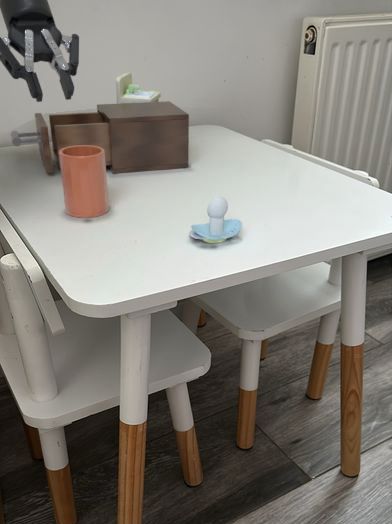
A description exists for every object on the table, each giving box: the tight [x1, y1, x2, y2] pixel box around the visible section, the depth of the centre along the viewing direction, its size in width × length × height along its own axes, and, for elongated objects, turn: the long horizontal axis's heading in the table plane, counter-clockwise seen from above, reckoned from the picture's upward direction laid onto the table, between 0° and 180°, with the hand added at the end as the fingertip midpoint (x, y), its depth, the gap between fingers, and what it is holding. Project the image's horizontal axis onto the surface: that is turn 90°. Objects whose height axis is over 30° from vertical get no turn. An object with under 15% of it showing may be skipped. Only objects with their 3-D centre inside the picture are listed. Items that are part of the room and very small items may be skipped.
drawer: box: [10, 111, 112, 174], centre depth 103 cm, size 18×11×8 cm, turn 108°
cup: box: [59, 145, 110, 219], centre depth 84 cm, size 7×7×9 cm
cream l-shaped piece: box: [115, 72, 162, 104], centre depth 119 cm, size 8×7×13 cm
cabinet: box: [96, 100, 190, 174], centre depth 107 cm, size 15×13×10 cm
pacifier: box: [188, 196, 243, 244], centre depth 77 cm, size 7×6×6 cm
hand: (54, 96), depth 87 cm, fingers open, 4 cm apart
